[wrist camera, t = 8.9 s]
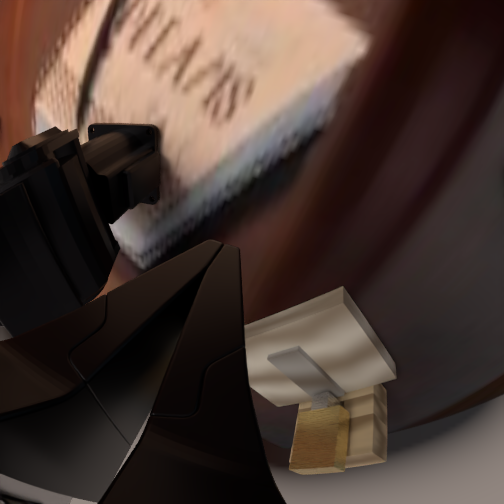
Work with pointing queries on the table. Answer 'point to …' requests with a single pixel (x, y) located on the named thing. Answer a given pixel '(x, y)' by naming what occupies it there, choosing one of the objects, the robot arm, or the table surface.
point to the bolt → (321, 437)
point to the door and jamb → (325, 367)
